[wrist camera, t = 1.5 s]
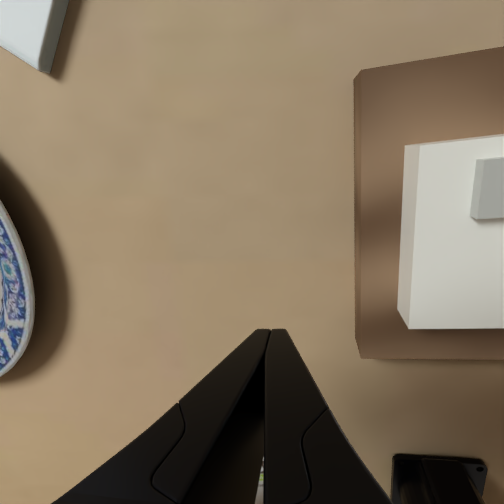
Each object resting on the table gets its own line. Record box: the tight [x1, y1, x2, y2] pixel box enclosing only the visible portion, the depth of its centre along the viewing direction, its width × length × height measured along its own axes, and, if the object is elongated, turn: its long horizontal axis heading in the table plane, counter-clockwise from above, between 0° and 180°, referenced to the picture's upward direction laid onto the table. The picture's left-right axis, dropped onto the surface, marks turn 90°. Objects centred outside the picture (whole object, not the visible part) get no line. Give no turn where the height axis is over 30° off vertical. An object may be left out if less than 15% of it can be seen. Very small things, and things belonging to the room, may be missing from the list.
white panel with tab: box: [397, 134, 504, 329], centre depth 14 cm, size 9×6×3 cm, turn 6°
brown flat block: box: [354, 47, 504, 360], centre depth 16 cm, size 16×12×2 cm
